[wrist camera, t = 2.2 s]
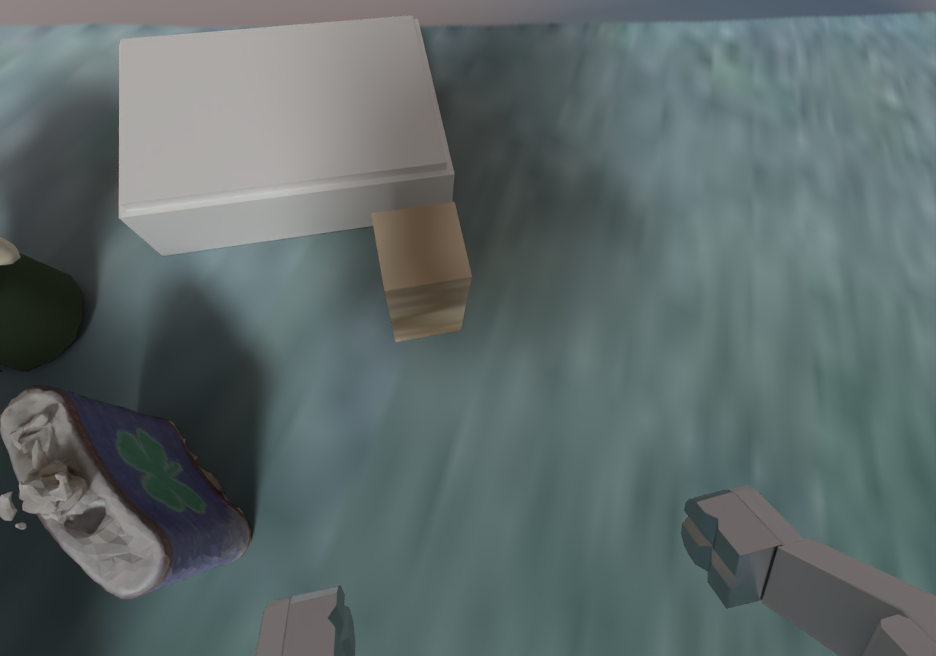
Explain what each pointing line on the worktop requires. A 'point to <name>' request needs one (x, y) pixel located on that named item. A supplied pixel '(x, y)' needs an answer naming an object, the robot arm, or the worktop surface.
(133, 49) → the grey box
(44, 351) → the character mug
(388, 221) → the maple block
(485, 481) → the worktop surface
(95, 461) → the flask
